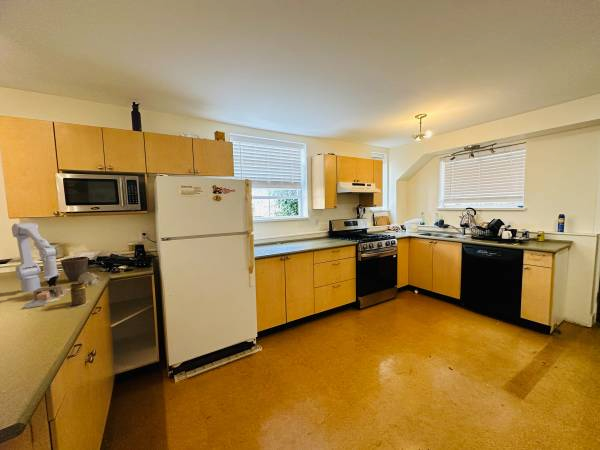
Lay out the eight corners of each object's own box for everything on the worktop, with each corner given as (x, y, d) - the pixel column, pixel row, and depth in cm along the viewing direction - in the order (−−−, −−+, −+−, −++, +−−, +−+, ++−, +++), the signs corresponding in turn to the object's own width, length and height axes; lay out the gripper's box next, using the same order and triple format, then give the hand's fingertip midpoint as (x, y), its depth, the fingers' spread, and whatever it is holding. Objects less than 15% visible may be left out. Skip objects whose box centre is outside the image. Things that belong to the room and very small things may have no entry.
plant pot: (93, 279, 183) (91, 257, 182) (66, 285, 171) (64, 262, 169) (85, 276, 191) (83, 255, 190) (59, 281, 179) (57, 259, 177)
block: (40, 299, 142) (40, 293, 141) (50, 298, 143) (49, 291, 143) (37, 302, 138) (36, 295, 138) (47, 301, 140) (46, 294, 140)
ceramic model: (105, 283, 173) (104, 269, 172) (90, 289, 162) (88, 274, 161) (87, 283, 174) (85, 269, 173) (71, 289, 163) (69, 274, 162)
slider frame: (44, 294, 150) (44, 286, 149) (60, 292, 153) (59, 284, 153) (25, 308, 130) (24, 298, 129) (44, 305, 133) (43, 296, 133)
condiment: (89, 300, 142) (87, 280, 141) (84, 306, 135) (82, 284, 134) (72, 303, 139) (70, 282, 138) (66, 308, 131) (64, 286, 130)
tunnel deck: (43, 293, 155) (42, 284, 155) (72, 289, 162) (71, 280, 161) (21, 308, 132) (19, 297, 132) (56, 303, 139) (55, 293, 138)
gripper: (54, 269, 146) (56, 291, 147) (63, 263, 158) (65, 284, 160) (37, 271, 142) (40, 293, 144) (48, 265, 155) (50, 286, 156)
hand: (52, 289), depth 152 cm, fingers closed, pressing on slider frame
